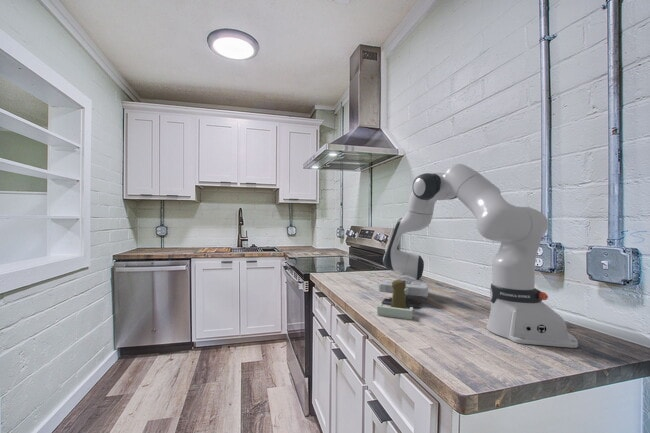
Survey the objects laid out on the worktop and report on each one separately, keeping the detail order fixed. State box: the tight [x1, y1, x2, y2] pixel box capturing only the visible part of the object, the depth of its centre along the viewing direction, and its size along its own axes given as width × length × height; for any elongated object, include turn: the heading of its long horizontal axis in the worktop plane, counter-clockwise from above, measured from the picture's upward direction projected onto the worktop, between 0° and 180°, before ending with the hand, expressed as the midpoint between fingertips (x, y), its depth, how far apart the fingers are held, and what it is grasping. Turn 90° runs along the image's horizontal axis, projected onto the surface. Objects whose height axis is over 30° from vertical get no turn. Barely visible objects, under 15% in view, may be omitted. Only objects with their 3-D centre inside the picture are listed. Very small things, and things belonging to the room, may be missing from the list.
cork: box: [390, 279, 408, 309], centre depth 112 cm, size 6×6×11 cm
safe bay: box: [376, 302, 414, 321], centre depth 105 cm, size 12×4×3 cm, turn 67°
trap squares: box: [381, 298, 422, 309], centre depth 119 cm, size 15×7×1 cm, turn 67°
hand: (400, 292), depth 116 cm, fingers closed
